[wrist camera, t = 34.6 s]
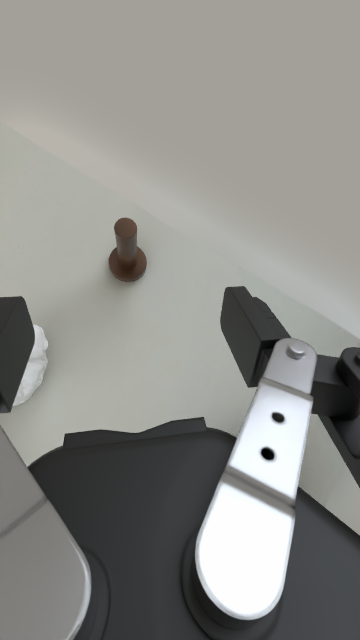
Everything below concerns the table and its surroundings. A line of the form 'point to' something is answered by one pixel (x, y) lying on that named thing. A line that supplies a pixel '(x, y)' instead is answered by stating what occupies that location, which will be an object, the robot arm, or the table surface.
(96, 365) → the table surface
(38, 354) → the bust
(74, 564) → the robot arm
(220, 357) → the table surface
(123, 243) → the wooden peg stand
